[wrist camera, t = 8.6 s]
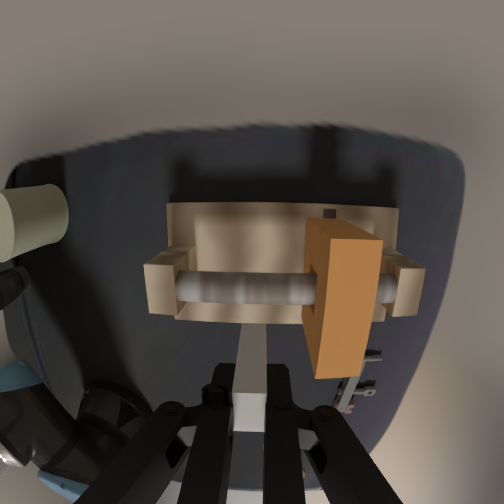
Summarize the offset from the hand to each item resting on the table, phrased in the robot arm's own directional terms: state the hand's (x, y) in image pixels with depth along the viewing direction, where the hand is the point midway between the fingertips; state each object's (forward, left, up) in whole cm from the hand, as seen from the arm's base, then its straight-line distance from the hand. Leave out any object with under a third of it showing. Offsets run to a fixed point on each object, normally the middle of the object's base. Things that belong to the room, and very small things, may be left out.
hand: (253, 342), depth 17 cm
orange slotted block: (+7, 0, -15) cm, 17 cm away
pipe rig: (+3, 0, -17) cm, 17 cm away
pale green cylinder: (-32, +7, -17) cm, 37 cm away
